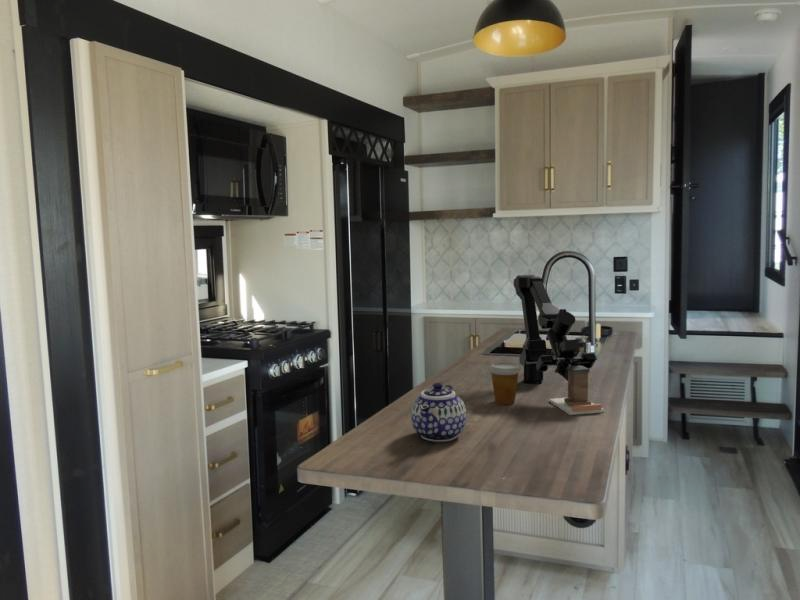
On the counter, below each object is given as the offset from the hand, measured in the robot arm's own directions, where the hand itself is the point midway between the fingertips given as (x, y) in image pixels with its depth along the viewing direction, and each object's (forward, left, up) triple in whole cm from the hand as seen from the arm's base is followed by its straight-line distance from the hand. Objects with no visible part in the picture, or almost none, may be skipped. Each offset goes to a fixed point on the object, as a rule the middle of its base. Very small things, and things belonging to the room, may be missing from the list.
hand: (574, 384), depth 209 cm
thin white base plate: (+1, -1, -7) cm, 7 cm away
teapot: (-36, -38, -7) cm, 52 cm away
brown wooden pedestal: (+1, -2, -5) cm, 6 cm away
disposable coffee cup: (-22, 0, -7) cm, 23 cm away
